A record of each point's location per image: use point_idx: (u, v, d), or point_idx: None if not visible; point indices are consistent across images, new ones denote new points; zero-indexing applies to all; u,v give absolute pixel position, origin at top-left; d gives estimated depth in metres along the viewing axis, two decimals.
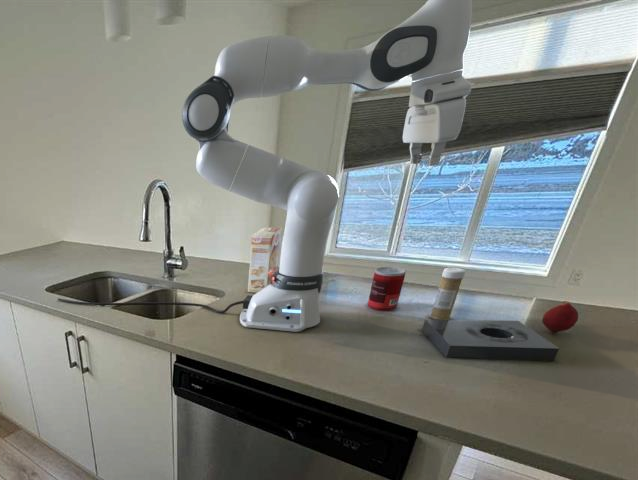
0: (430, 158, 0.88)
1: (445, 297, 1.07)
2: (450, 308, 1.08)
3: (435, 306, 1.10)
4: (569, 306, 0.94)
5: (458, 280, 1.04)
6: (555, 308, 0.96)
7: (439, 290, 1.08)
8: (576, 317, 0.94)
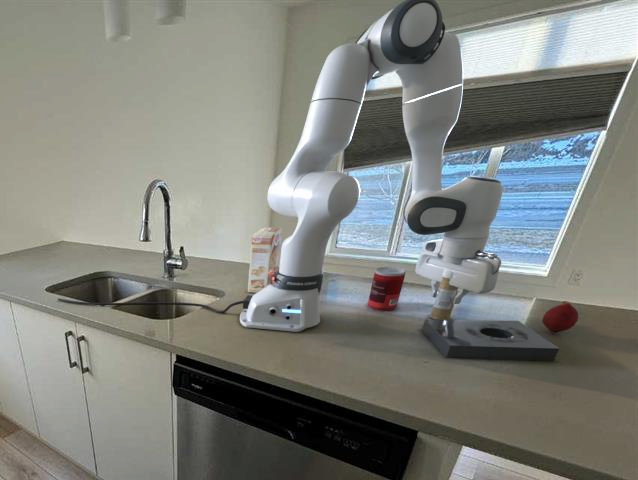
0: None
1: (445, 297, 1.07)
2: (450, 308, 1.08)
3: (435, 306, 1.10)
4: (569, 306, 0.94)
5: None
6: (555, 308, 0.96)
7: (439, 290, 1.08)
8: (576, 317, 0.94)
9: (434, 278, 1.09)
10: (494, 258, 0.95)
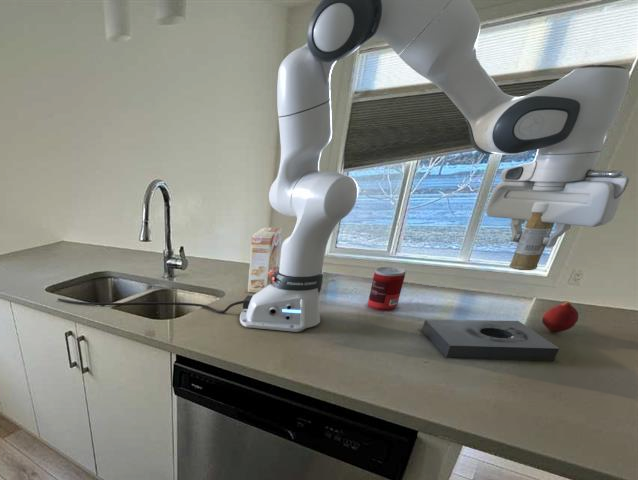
0: None
1: (535, 239, 0.82)
2: (540, 253, 0.84)
3: (519, 252, 0.85)
4: (569, 306, 0.94)
5: None
6: (555, 308, 0.96)
7: (526, 230, 0.83)
8: (576, 317, 0.94)
9: (517, 216, 0.84)
10: (618, 176, 0.71)
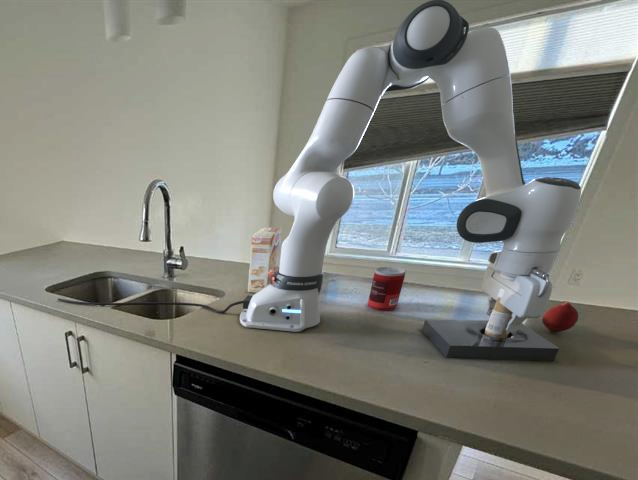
0: None
1: (495, 320, 0.92)
2: (501, 334, 0.93)
3: (485, 329, 0.95)
4: (569, 306, 0.94)
5: None
6: (555, 308, 0.96)
7: (492, 311, 0.93)
8: (576, 317, 0.94)
9: (492, 295, 0.94)
10: (544, 278, 0.80)
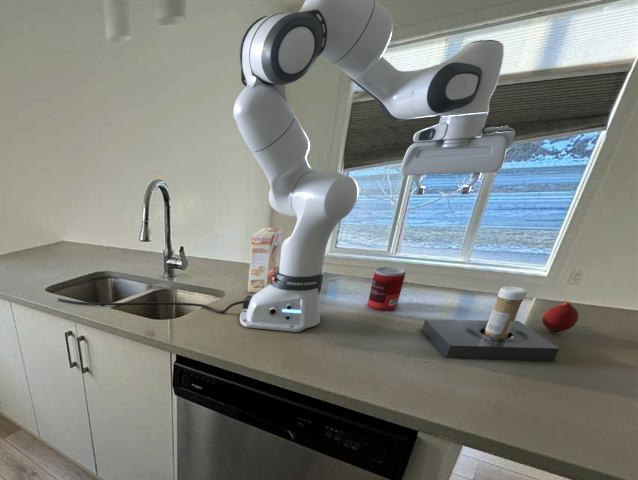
0: None
1: (495, 320, 0.92)
2: (501, 334, 0.93)
3: (485, 329, 0.95)
4: (569, 306, 0.94)
5: (513, 302, 0.89)
6: (555, 308, 0.96)
7: (492, 311, 0.93)
8: (576, 317, 0.94)
9: (430, 171, 1.00)
10: (507, 130, 0.90)
